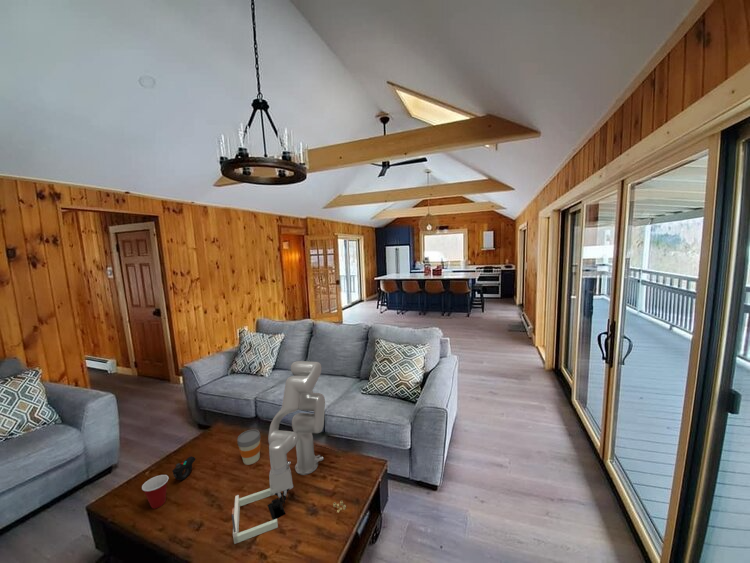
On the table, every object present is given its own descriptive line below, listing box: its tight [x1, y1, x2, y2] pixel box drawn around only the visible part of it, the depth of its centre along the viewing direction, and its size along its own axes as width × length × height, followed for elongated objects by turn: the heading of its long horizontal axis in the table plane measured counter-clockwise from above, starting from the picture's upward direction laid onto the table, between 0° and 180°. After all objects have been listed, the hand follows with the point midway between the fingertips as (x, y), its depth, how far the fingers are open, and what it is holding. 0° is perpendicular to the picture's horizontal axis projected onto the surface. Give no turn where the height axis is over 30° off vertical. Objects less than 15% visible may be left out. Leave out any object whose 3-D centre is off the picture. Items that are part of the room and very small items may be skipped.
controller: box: [172, 456, 196, 481], centre depth 167 cm, size 4×12×10 cm, turn 165°
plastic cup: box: [141, 474, 170, 509], centre depth 149 cm, size 11×11×12 cm
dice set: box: [332, 500, 347, 514], centre depth 142 cm, size 5×5×2 cm
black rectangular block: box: [267, 497, 286, 521], centre depth 143 cm, size 12×7×5 cm, turn 32°
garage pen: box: [231, 487, 279, 545], centre depth 139 cm, size 18×21×13 cm
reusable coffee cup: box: [237, 428, 262, 466], centre depth 177 cm, size 13×13×15 cm
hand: (283, 501), depth 144 cm, fingers closed
